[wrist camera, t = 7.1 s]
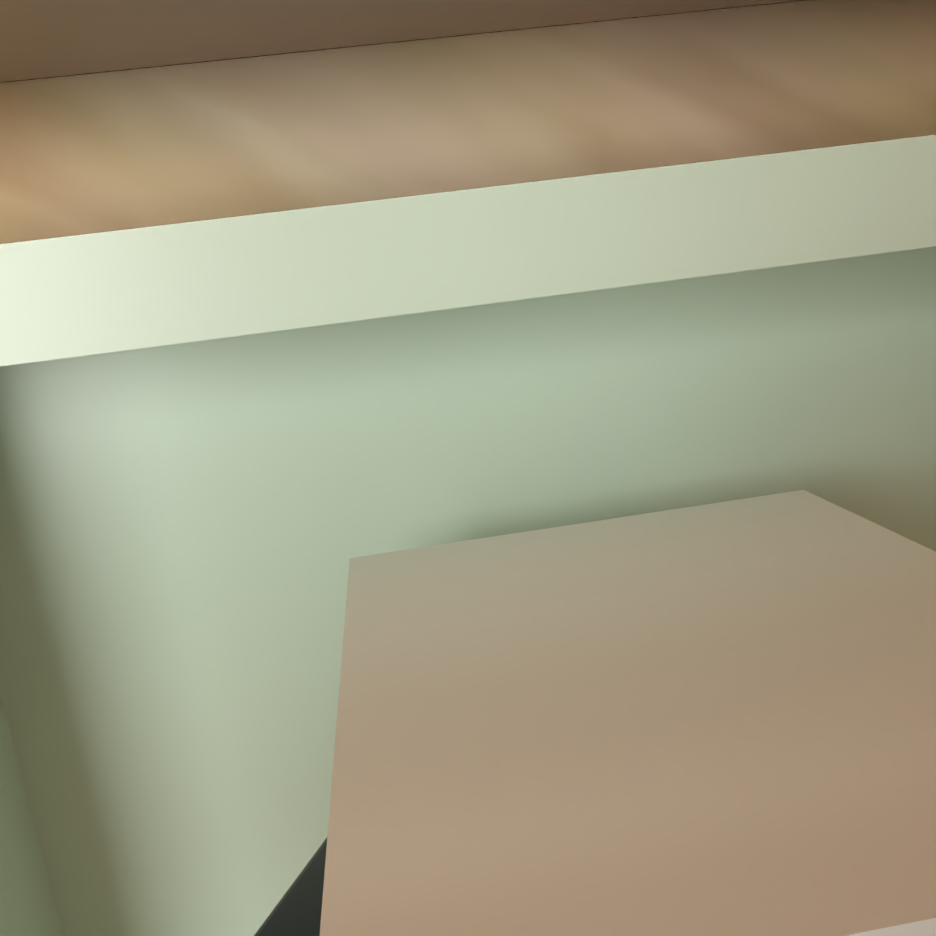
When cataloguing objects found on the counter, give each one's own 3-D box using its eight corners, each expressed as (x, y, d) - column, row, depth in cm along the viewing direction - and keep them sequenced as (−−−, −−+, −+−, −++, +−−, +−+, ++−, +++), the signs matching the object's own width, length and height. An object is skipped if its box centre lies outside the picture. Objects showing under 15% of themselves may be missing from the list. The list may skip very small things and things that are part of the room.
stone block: (803, 489, 10) (1483, 810, 4) (819, 884, 11) (1368, 1614, 5) (350, 558, 9) (312, 1038, 3) (414, 960, 10) (469, 1862, 4)
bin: (1118, 136, 11) (1380, 82, 8) (1088, 928, 14) (1281, 1099, 11) (-175, 290, 10) (-401, 291, 7) (58, 1132, 13) (-36, 1390, 10)
